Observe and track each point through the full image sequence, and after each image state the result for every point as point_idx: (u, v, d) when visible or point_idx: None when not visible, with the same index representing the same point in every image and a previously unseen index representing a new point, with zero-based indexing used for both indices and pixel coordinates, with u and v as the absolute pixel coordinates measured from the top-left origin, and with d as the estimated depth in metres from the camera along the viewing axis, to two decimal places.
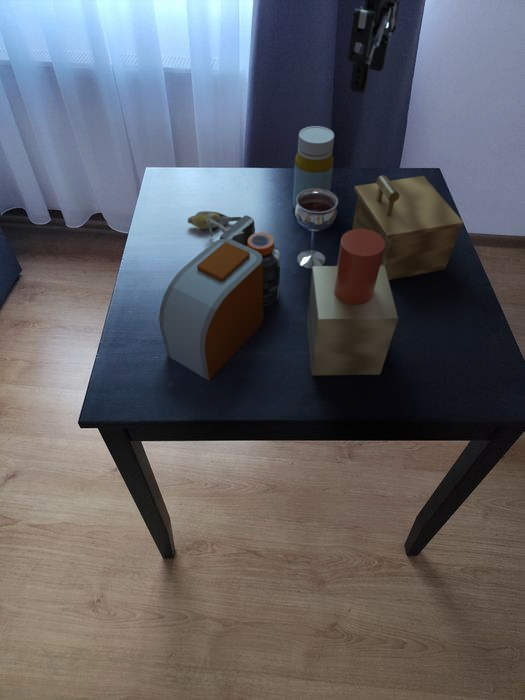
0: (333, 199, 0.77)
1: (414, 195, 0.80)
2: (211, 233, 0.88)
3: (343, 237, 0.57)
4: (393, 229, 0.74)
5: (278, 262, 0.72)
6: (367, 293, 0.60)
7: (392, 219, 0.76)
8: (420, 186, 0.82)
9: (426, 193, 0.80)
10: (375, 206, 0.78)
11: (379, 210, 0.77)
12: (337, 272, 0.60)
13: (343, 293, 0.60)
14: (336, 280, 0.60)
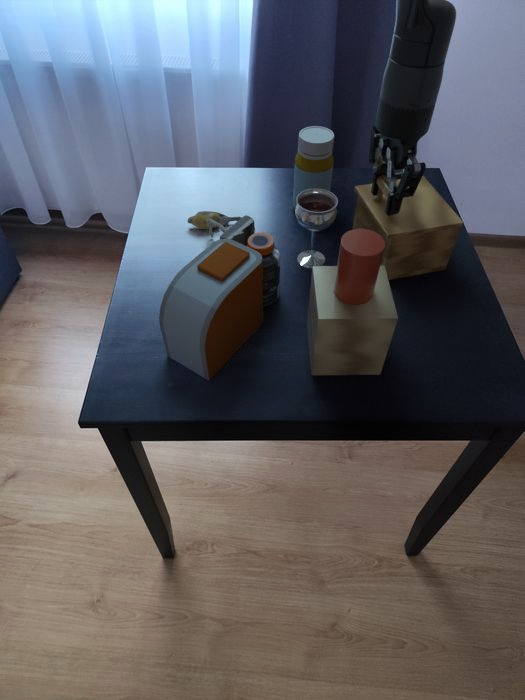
0: (333, 199, 0.77)
1: (414, 195, 0.80)
2: (211, 233, 0.88)
3: (343, 237, 0.57)
4: (393, 229, 0.74)
5: (278, 262, 0.72)
6: (367, 293, 0.60)
7: (392, 219, 0.76)
8: (420, 187, 0.82)
9: (426, 193, 0.80)
10: (375, 206, 0.78)
11: (379, 210, 0.77)
12: (337, 272, 0.60)
13: (343, 293, 0.60)
14: (336, 280, 0.60)
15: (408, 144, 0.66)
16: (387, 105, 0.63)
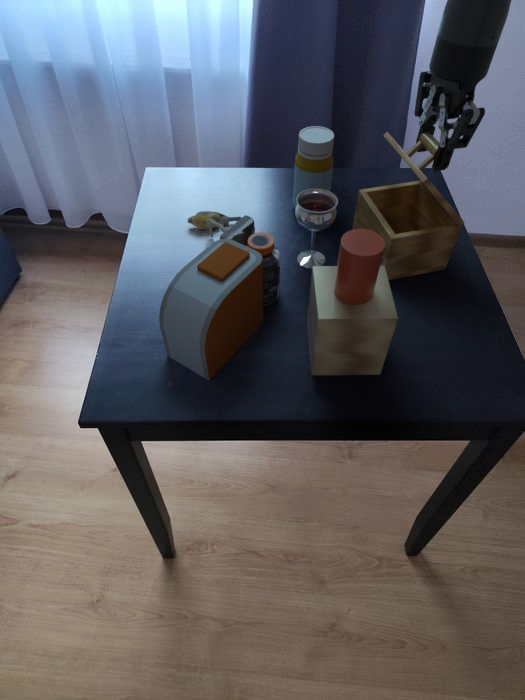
0: (333, 199, 0.77)
1: None
2: (211, 233, 0.88)
3: (343, 237, 0.57)
4: None
5: (278, 262, 0.72)
6: (367, 293, 0.60)
7: None
8: None
9: None
10: None
11: None
12: (337, 272, 0.60)
13: (343, 293, 0.60)
14: (336, 280, 0.60)
15: (466, 87, 0.62)
16: (448, 43, 0.59)
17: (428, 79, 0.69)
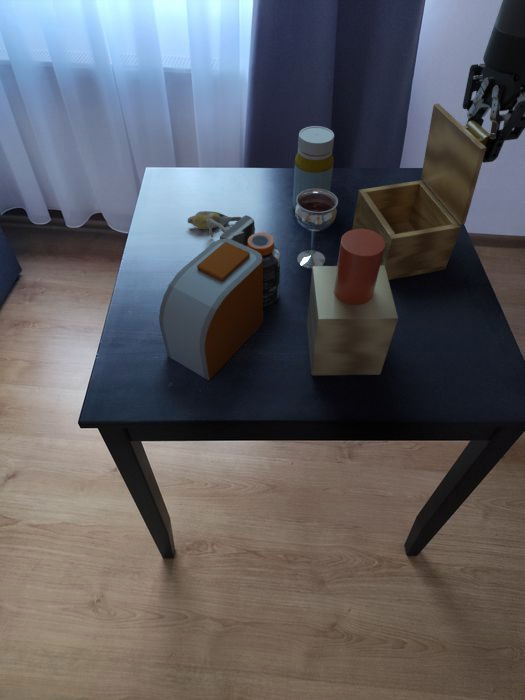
0: (333, 199, 0.77)
1: None
2: (211, 233, 0.88)
3: (343, 237, 0.57)
4: None
5: (278, 262, 0.72)
6: (367, 293, 0.60)
7: None
8: None
9: None
10: None
11: None
12: (337, 272, 0.60)
13: (343, 293, 0.60)
14: (336, 280, 0.60)
15: (521, 79, 0.63)
16: (505, 35, 0.60)
17: (478, 72, 0.70)
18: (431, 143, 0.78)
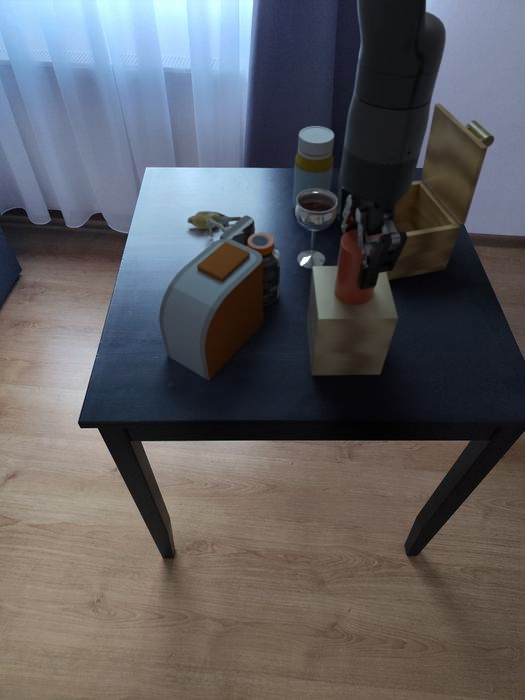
0: (333, 199, 0.77)
1: None
2: (211, 233, 0.88)
3: (343, 237, 0.57)
4: None
5: (278, 262, 0.72)
6: (367, 293, 0.60)
7: None
8: None
9: None
10: None
11: None
12: (337, 272, 0.60)
13: (343, 293, 0.60)
14: (336, 280, 0.60)
15: (383, 207, 0.48)
16: (353, 157, 0.46)
17: None
18: (431, 143, 0.78)
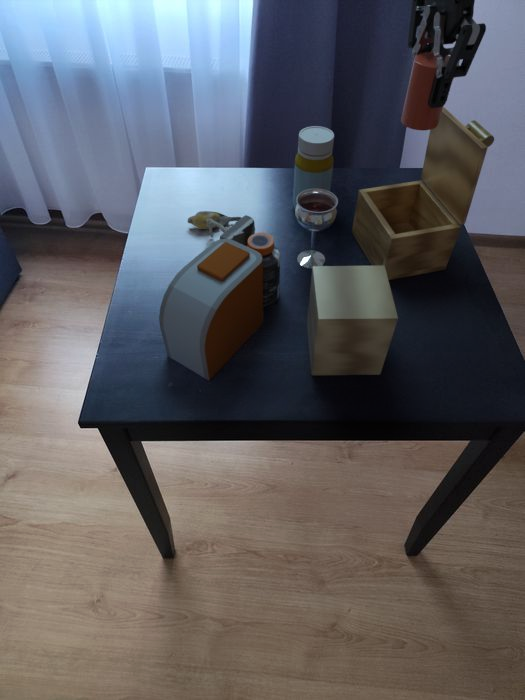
0: (333, 199, 0.77)
1: None
2: (211, 233, 0.88)
3: (416, 57, 0.62)
4: None
5: (278, 262, 0.72)
6: (435, 117, 0.65)
7: None
8: None
9: None
10: None
11: None
12: (407, 96, 0.65)
13: (412, 118, 0.65)
14: (405, 106, 0.66)
15: (464, 1, 0.53)
16: None
17: (422, 2, 0.61)
18: (431, 143, 0.78)
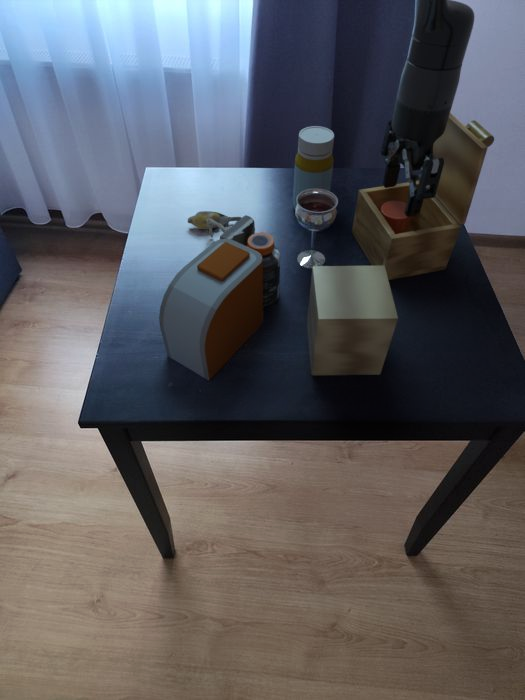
0: (333, 199, 0.77)
1: None
2: (211, 233, 0.88)
3: (382, 206, 0.79)
4: None
5: (278, 262, 0.72)
6: None
7: None
8: None
9: None
10: None
11: None
12: None
13: None
14: None
15: (424, 145, 0.67)
16: (405, 107, 0.64)
17: None
18: None
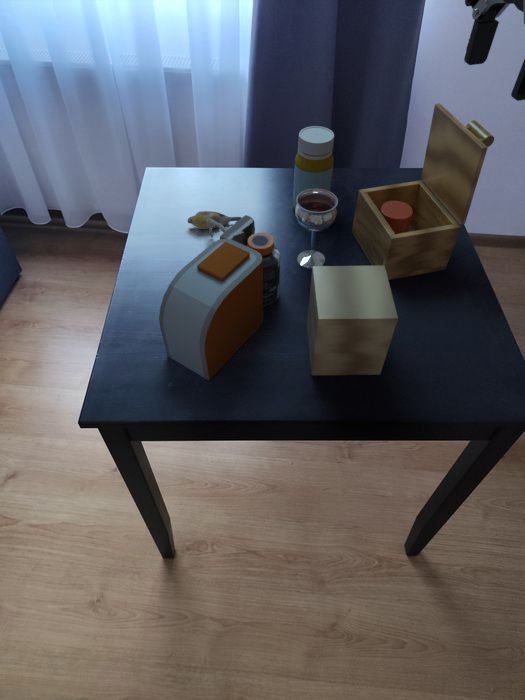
0: (333, 199, 0.77)
1: None
2: (211, 233, 0.88)
3: (382, 206, 0.79)
4: None
5: (278, 262, 0.72)
6: None
7: None
8: None
9: None
10: None
11: None
12: None
13: None
14: None
15: None
16: None
17: None
18: (431, 143, 0.78)
